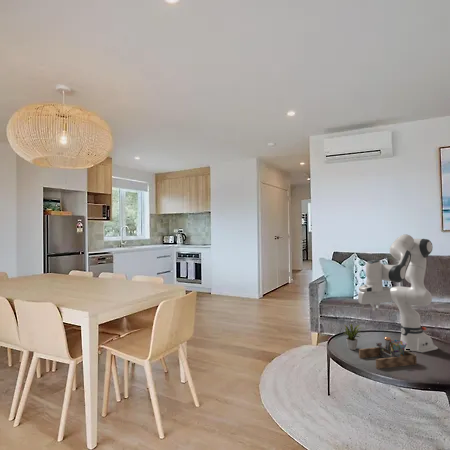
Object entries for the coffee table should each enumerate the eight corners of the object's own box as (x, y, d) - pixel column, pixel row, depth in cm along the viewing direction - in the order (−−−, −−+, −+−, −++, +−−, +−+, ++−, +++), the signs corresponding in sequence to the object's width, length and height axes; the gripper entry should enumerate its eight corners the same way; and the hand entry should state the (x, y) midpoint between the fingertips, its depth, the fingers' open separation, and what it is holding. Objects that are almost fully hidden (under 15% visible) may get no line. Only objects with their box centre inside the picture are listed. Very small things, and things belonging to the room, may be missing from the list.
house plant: (368, 347, 218) (367, 322, 219) (363, 353, 207) (362, 327, 207) (345, 343, 226) (345, 319, 227) (340, 349, 215) (339, 324, 215)
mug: (407, 364, 189) (408, 345, 189) (389, 361, 192) (390, 343, 192) (403, 357, 201) (404, 339, 201) (386, 354, 204) (387, 337, 204)
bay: (394, 353, 207) (393, 344, 207) (416, 364, 188) (416, 354, 189) (358, 357, 202) (358, 347, 202) (378, 369, 184) (377, 359, 184)
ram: (380, 353, 205) (379, 332, 205) (402, 366, 186) (401, 342, 187) (375, 354, 205) (374, 333, 205) (397, 366, 186) (396, 343, 186)
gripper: (386, 285, 202) (387, 307, 202) (356, 287, 198) (357, 310, 198) (393, 286, 196) (394, 310, 196) (362, 289, 192) (363, 313, 192)
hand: (375, 310), depth 197 cm, fingers closed
